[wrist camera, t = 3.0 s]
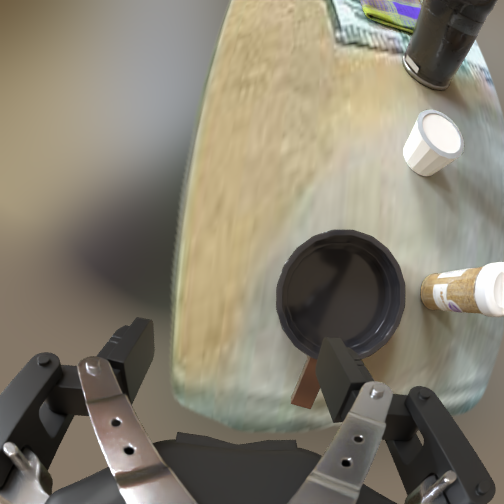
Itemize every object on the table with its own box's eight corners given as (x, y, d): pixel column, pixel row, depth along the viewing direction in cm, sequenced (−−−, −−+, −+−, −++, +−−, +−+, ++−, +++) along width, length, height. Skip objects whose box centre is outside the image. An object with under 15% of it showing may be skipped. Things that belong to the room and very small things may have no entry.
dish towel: (360, 20, 35) (362, 10, 32) (354, -18, 37) (355, -26, 34) (439, 45, 32) (442, 36, 29) (417, -1, 34) (419, -8, 32)
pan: (299, 223, 31) (300, 212, 27) (402, 258, 29) (418, 253, 24) (262, 333, 30) (257, 340, 26) (368, 365, 28) (379, 376, 23)
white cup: (427, 190, 29) (452, 169, 22) (390, 154, 31) (407, 126, 24) (448, 161, 29) (471, 138, 22) (413, 128, 30) (430, 100, 24)
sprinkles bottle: (414, 303, 28) (481, 308, 15) (425, 267, 28) (493, 252, 15) (441, 315, 27) (510, 323, 14) (452, 280, 27) (522, 272, 14)
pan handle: (310, 344, 29) (312, 352, 25) (327, 349, 29) (332, 358, 25) (291, 391, 28) (290, 403, 25) (308, 396, 28) (310, 409, 24)
